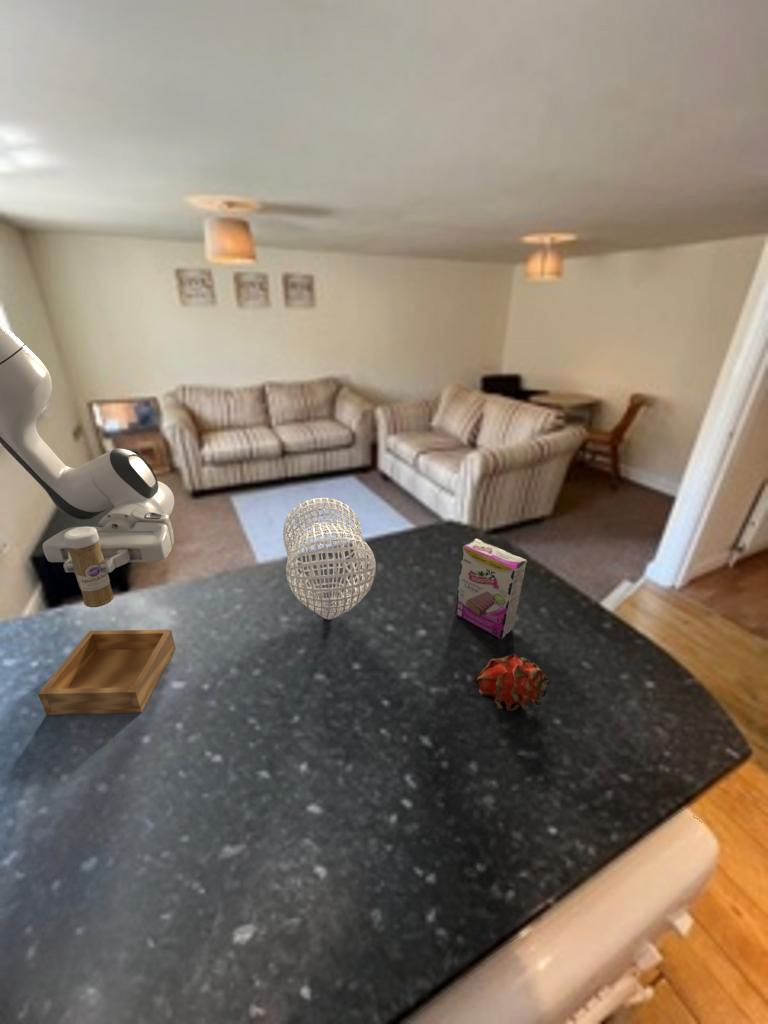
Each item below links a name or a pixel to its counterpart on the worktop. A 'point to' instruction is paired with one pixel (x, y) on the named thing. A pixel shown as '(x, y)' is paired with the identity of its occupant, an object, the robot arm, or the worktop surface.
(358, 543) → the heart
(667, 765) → the worktop surface
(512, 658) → the dragon fruit
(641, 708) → the worktop surface
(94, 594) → the sprinkles bottle
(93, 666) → the holder
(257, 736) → the worktop surface
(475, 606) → the candy bar box
